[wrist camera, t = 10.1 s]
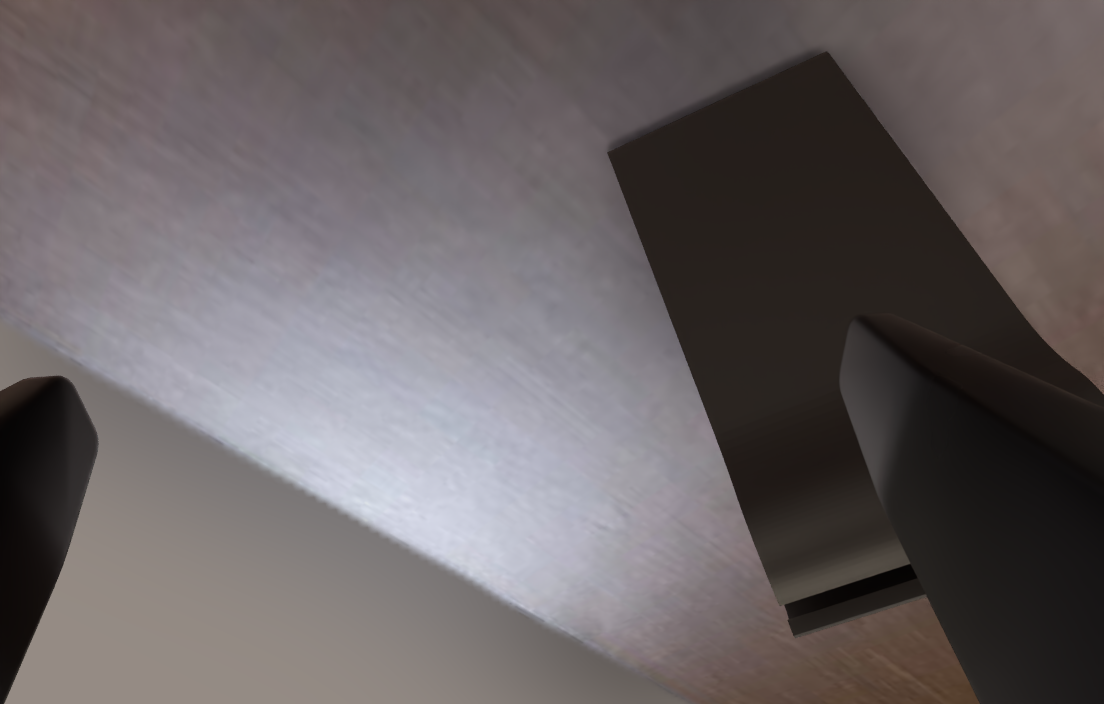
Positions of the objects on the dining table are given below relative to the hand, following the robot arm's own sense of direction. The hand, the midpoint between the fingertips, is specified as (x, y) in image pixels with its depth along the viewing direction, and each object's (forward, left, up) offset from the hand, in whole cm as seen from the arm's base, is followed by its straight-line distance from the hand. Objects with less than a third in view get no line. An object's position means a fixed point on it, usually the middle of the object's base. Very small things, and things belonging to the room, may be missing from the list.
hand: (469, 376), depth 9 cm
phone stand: (+7, -5, -13) cm, 16 cm away
